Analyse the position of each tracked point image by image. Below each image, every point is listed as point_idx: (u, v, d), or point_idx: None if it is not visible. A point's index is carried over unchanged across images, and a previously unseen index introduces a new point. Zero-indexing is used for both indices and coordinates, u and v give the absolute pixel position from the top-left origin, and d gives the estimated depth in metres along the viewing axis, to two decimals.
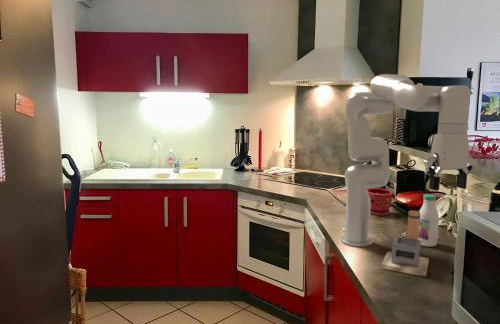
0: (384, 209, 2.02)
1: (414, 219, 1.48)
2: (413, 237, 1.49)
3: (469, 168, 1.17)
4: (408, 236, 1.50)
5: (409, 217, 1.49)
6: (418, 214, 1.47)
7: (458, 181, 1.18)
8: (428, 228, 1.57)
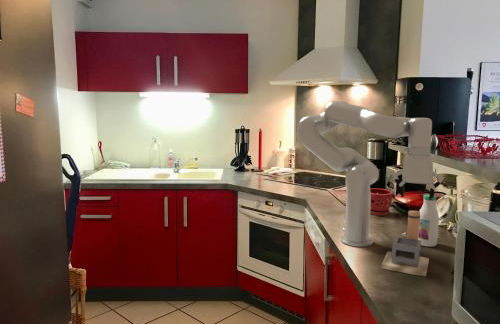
0: (384, 209, 2.02)
1: (414, 219, 1.48)
2: (413, 237, 1.49)
3: None
4: (408, 236, 1.50)
5: (409, 217, 1.49)
6: (418, 214, 1.47)
7: (403, 192, 1.49)
8: (428, 228, 1.57)
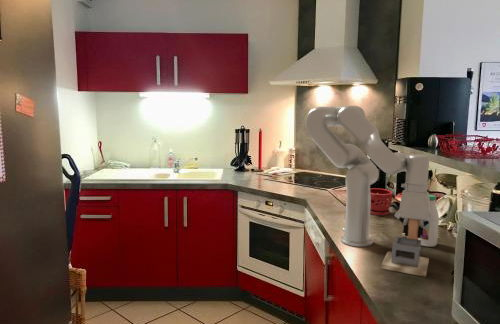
0: (384, 209, 2.02)
1: (414, 219, 1.48)
2: (413, 237, 1.49)
3: None
4: (408, 236, 1.50)
5: None
6: None
7: None
8: (428, 228, 1.57)
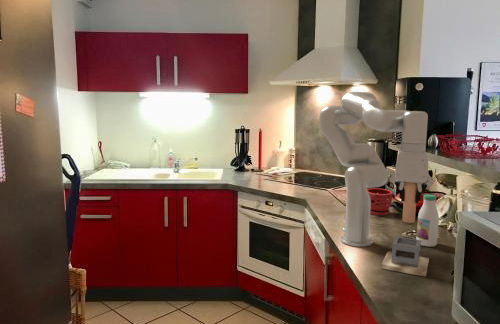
0: (384, 209, 2.02)
1: None
2: (411, 202, 1.35)
3: None
4: (405, 202, 1.36)
5: None
6: None
7: (403, 196, 1.37)
8: (428, 228, 1.57)
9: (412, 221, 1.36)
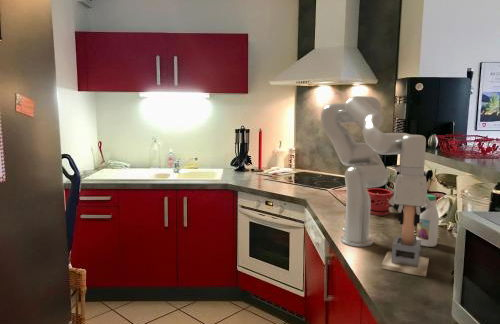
0: (384, 209, 2.02)
1: None
2: (409, 225, 1.36)
3: None
4: (404, 224, 1.37)
5: None
6: None
7: (402, 218, 1.38)
8: (428, 228, 1.57)
9: (411, 243, 1.37)
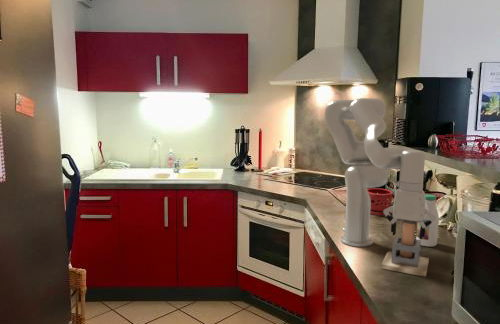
0: (384, 209, 2.02)
1: (410, 224, 1.36)
2: (408, 244, 1.37)
3: None
4: (402, 242, 1.38)
5: (404, 222, 1.37)
6: None
7: (395, 230, 1.39)
8: (428, 228, 1.57)
9: None
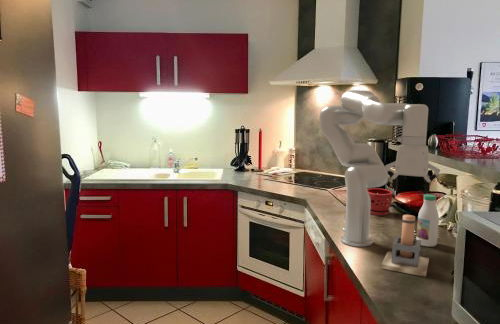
0: (384, 209, 2.02)
1: (409, 224, 1.36)
2: (408, 243, 1.37)
3: None
4: (402, 242, 1.38)
5: (403, 222, 1.37)
6: (413, 218, 1.36)
7: (396, 185, 1.37)
8: (428, 228, 1.57)
9: None
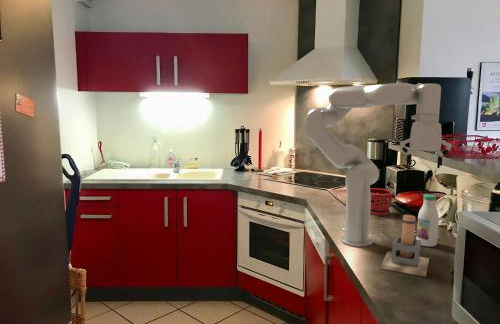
0: (384, 209, 2.02)
1: (409, 224, 1.36)
2: (408, 244, 1.37)
3: None
4: (402, 243, 1.38)
5: (403, 222, 1.37)
6: (413, 219, 1.36)
7: (410, 161, 1.46)
8: (428, 228, 1.57)
9: None
